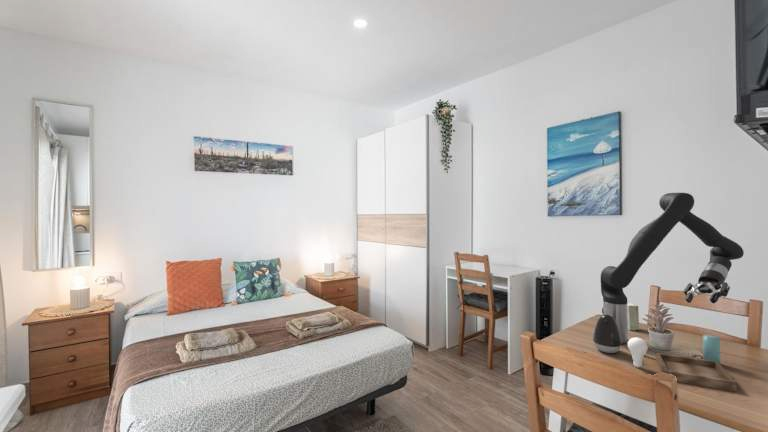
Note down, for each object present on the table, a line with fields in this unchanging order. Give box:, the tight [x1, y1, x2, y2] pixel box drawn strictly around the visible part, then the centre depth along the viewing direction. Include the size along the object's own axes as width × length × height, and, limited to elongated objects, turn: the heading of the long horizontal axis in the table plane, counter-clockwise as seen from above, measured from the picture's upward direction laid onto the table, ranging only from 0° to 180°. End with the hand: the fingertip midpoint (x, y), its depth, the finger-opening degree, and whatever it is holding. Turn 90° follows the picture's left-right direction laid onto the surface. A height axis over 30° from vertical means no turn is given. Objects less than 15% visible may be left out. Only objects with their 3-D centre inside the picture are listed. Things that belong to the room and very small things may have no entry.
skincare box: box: [627, 302, 640, 331], centre depth 174 cm, size 6×4×12 cm
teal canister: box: [702, 334, 721, 365], centre depth 133 cm, size 5×5×10 cm
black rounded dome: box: [592, 314, 623, 354], centre depth 146 cm, size 10×10×15 cm
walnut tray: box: [655, 352, 737, 393], centre depth 124 cm, size 18×18×3 cm
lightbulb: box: [627, 337, 649, 369], centre depth 130 cm, size 6×6×11 cm
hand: (699, 301), depth 142 cm, fingers open, 8 cm apart
